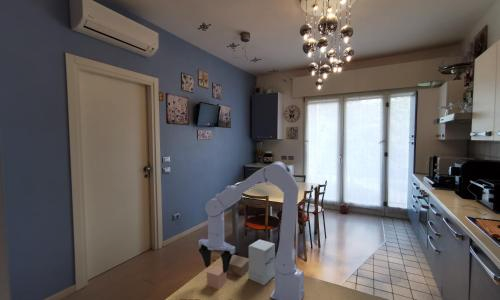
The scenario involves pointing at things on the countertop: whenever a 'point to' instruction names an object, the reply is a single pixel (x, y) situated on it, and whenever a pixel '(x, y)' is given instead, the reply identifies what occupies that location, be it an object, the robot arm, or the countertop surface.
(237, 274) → the walnut slab
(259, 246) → the supplement box
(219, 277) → the terracotta cube
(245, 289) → the countertop surface
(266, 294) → the countertop surface
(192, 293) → the countertop surface
